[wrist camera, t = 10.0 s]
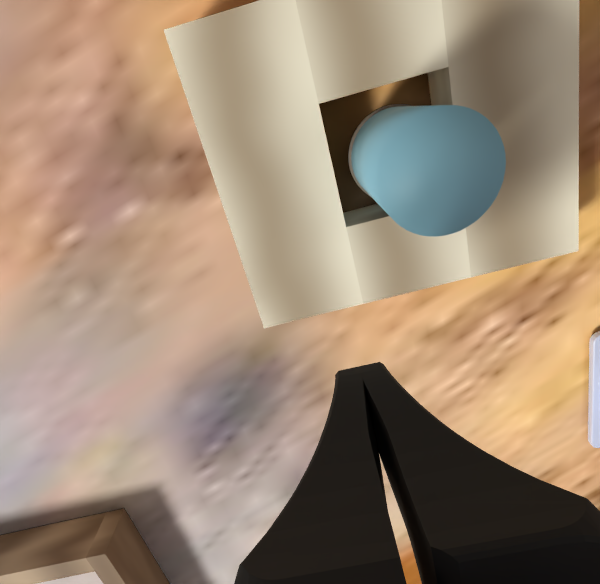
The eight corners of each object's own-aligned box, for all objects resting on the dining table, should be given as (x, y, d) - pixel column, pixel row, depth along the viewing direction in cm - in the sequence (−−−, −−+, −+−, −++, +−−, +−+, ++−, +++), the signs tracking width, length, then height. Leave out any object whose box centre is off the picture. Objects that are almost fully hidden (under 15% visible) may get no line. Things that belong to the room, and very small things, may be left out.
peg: (418, 97, 18) (509, 88, 10) (424, 181, 19) (508, 226, 12) (334, 113, 18) (367, 117, 11) (346, 196, 19) (382, 249, 12)
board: (536, -69, 16) (579, -100, 13) (545, 234, 20) (578, 251, 18) (180, 40, 17) (163, 30, 14) (266, 304, 21) (264, 328, 19)
